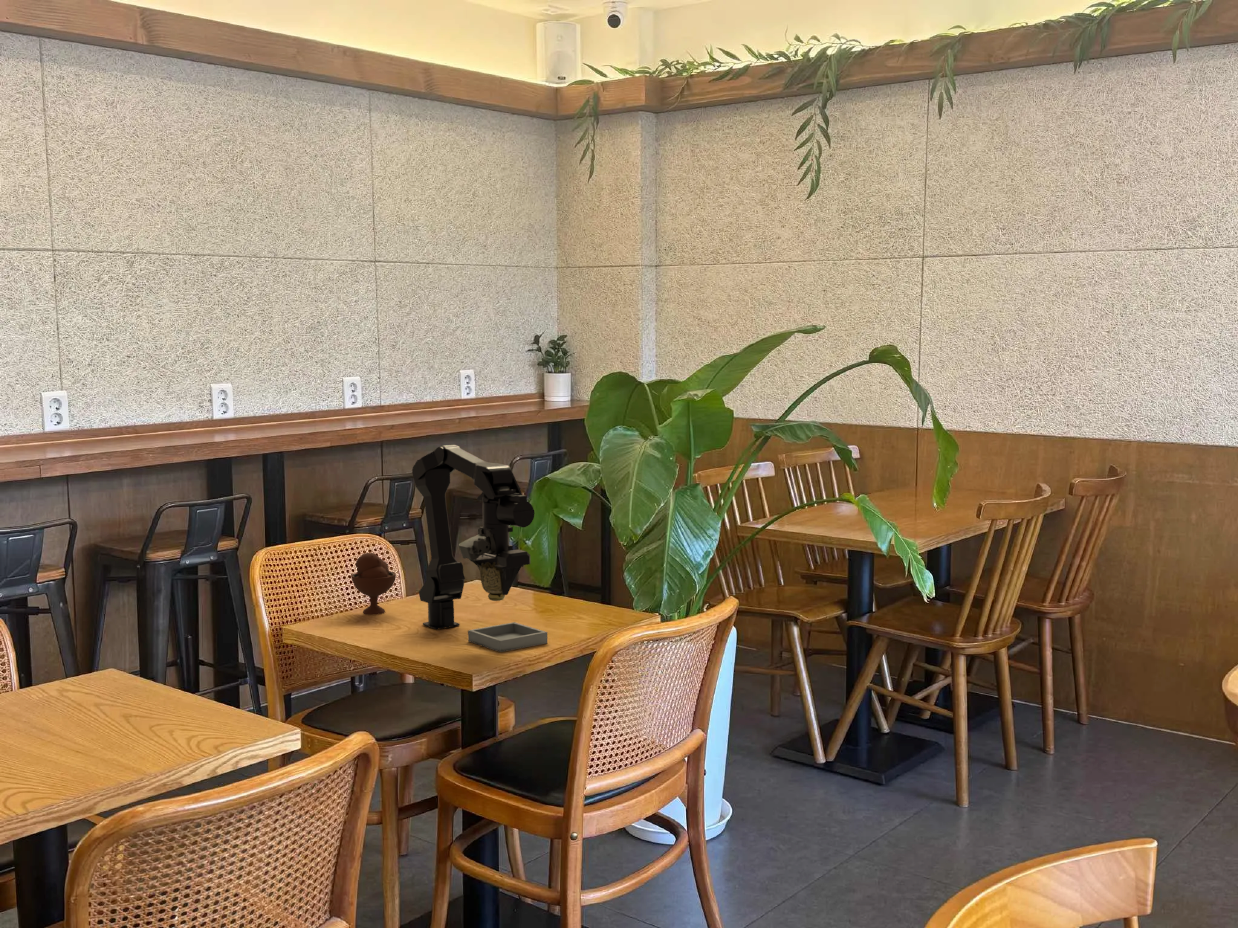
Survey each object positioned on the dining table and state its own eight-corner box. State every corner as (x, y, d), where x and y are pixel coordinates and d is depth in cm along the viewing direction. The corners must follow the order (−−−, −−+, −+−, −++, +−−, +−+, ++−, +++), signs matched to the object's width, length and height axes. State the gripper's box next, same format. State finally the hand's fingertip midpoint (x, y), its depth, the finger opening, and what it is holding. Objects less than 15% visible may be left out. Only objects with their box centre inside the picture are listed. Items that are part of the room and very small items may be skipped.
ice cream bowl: (392, 617, 298) (391, 556, 297) (346, 616, 298) (345, 555, 297) (400, 607, 309) (399, 548, 307) (356, 607, 309) (355, 548, 307)
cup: (507, 603, 267) (506, 567, 266) (474, 602, 269) (474, 566, 268) (517, 597, 274) (517, 561, 274) (486, 595, 276) (485, 560, 275)
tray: (468, 641, 274) (468, 630, 274) (514, 632, 282) (514, 622, 282) (500, 652, 265) (500, 640, 264) (547, 643, 273) (547, 631, 272)
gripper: (442, 521, 272) (443, 590, 274) (487, 530, 258) (488, 604, 259) (485, 516, 279) (485, 584, 281) (531, 526, 265) (532, 597, 266)
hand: (496, 592), depth 272 cm, fingers closed on cup, 6 cm apart
